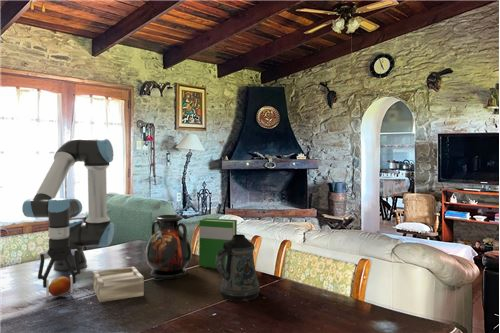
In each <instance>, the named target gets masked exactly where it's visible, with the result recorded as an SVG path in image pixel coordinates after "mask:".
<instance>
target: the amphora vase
mask: <svg viewBox="0 0 500 333" xmlns="http://www.w3.org/2000/svg"><path fill="white" fill-rule="evenodd" d="M154 218H155V221H153V222H152V225H151V236H150V239H149V240H148V241H147V242H148V243H147V244H146V248H145V261H146V263H147V265H148V266H149V268H151V271H150V275H151V276H152V277H153V278H155V279H158V280H159V279H160V280H174V279H178V278H182V277H183V276H185V275H186V273H187V270H186V267H187V266H188V264H189V263H190V261H191V258H192V247H191V242H190V241H189V239H188V236H187V235H188V234H187V233H188V230H187V226H186V224H185V223H183V222H181V221H182V220H183V219H184V218H183V216H182V215H179V214H161V215H160V214H159V215H157V216H155V217H154ZM179 222H180V223H179ZM156 225H157V226H158V228H157V230H156ZM180 227H182V230H181V229H180Z"/></svg>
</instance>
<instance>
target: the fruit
mask: <svg viewBox="0 0 500 333" xmlns="http://www.w3.org/2000/svg"><path fill="white" fill-rule="evenodd" d="M68 293H69V294H71V292H70V278H68V277H67V276H58V277H57V278H55V279H53V280H51V282H49V295H52V296H53V297H60V296H62V297H63V296H64V295H65V294H68Z"/></svg>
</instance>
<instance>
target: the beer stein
mask: <svg viewBox="0 0 500 333" xmlns="http://www.w3.org/2000/svg"><path fill="white" fill-rule="evenodd" d="M255 247H256V246H255V245H254V243H252V242H251V241H250V240H249V239H248V238H247V237H246V235H245V234H240V233H238V234H236V235H233V238H232V239H231V240H230V241H227V242H224V243H223V249H221V250H220V251H219V252H218V254H217V256H216V267H217V268H216V269H217V271H218V272H219V275H220V276H221V277H222V281H221V284H220V285H219V291H220V296H222V297H221V298H222V299H225V300H226V299H227V301H229V300H232V301H231V302H235V301H246V302H248V301H247V300H251V299H254V298H256V297H257V296H258V297H259V292H260V289H261V288H260V284H259V280H258V276H257V273H256V271H257V270H256V265H255V258H254V251H255ZM225 256H226V260H225V266H223V260H224V257H225ZM258 297H257V298H258ZM257 298H256V299H257ZM254 300H255V299H254ZM251 301H252V300H251Z"/></svg>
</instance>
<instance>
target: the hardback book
mask: <svg viewBox="0 0 500 333" xmlns="http://www.w3.org/2000/svg"><path fill="white" fill-rule="evenodd" d="M237 222H238V220H237V219H230V218H227V219H226V218H225V219H224V218H210V217H204V218H201V219H199V228H198V229H199V233H198V234H199V235H198V236H199V242H198V246H199V247H198V267H199V266H205V267H204V268H206V267H214V268H213V269H217V267H216V256H217V254H218V252H219V251H220V250H221V249H223V243H224V242H227V241H230V240H231V239H232V238H233V235H236V234H237V233H238V232H237V229H238V227H237V226H238V223H237ZM225 260H226V256H225V257H224V260H223V266H225Z"/></svg>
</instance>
